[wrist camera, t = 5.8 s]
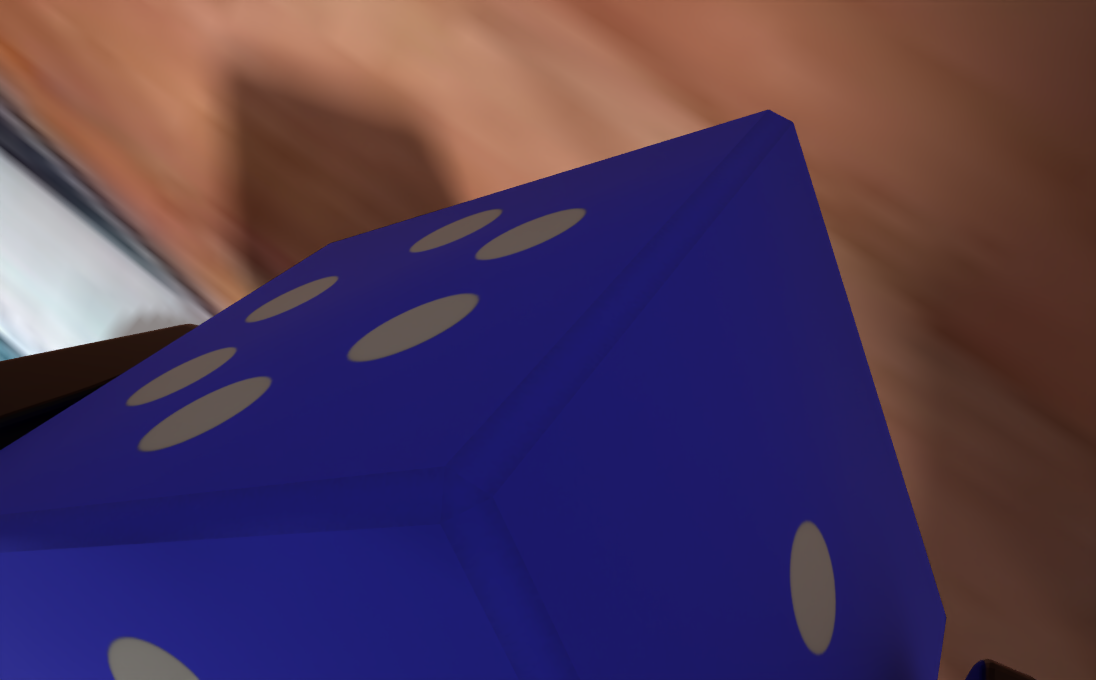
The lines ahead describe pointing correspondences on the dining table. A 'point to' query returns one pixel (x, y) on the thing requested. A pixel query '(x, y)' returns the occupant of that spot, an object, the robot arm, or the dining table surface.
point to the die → (496, 456)
